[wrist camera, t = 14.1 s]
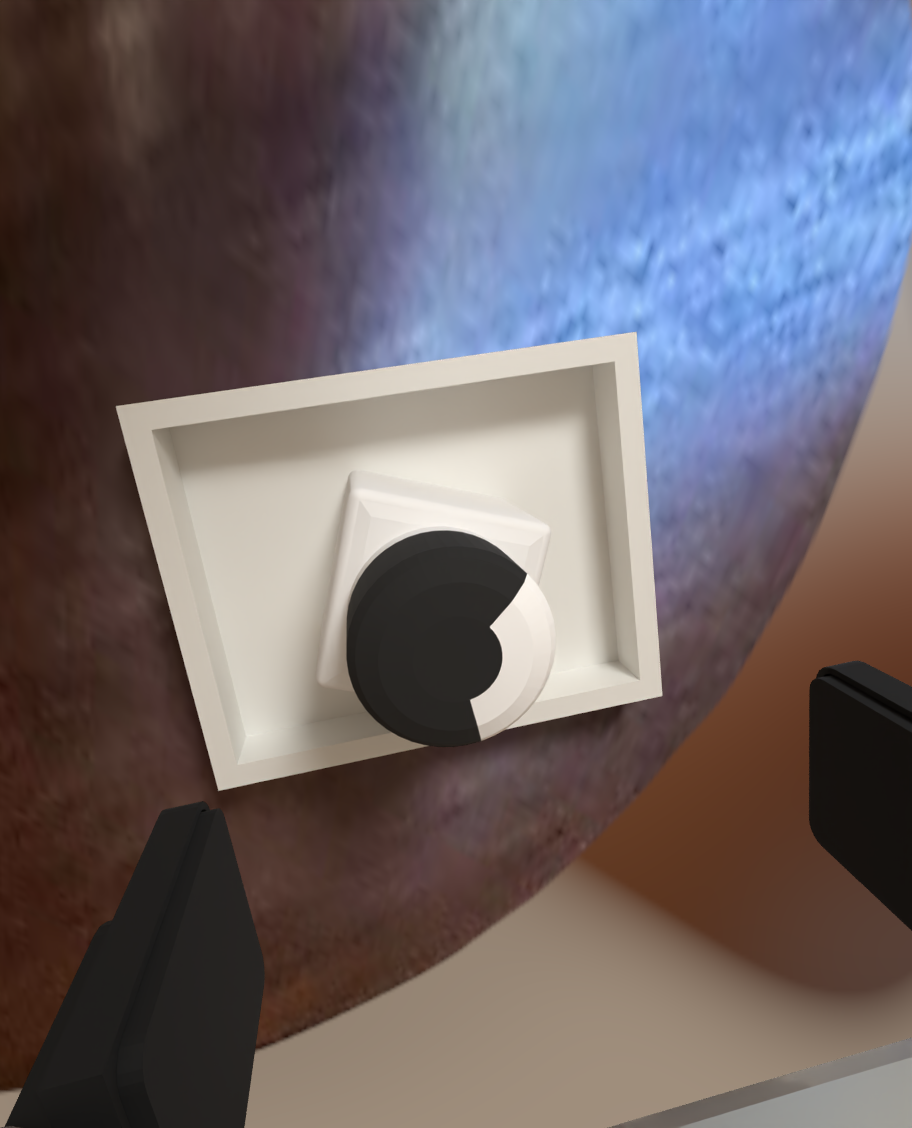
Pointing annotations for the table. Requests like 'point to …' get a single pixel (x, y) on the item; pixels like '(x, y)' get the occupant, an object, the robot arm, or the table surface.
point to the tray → (312, 517)
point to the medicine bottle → (436, 610)
